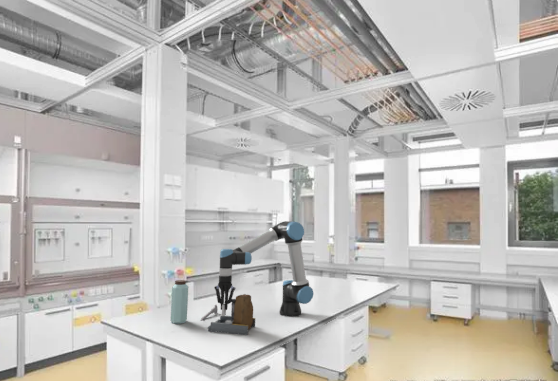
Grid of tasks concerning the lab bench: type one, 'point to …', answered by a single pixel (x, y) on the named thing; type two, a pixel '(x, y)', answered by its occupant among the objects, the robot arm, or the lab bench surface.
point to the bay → (229, 326)
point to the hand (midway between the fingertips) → (223, 315)
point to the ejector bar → (232, 312)
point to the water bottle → (179, 302)
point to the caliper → (210, 312)
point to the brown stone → (243, 310)
